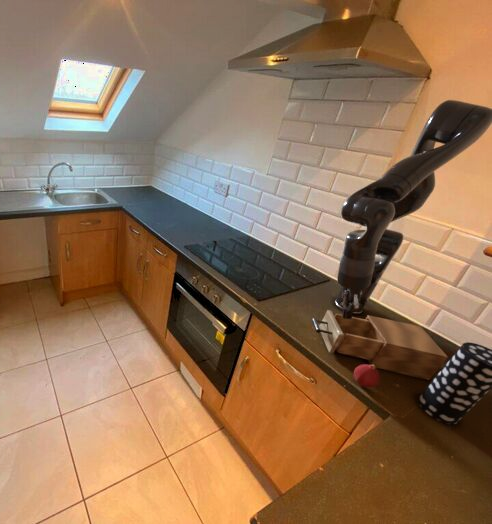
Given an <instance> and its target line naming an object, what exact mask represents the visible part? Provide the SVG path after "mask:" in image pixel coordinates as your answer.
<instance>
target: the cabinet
mask: <svg viewBox="0 0 492 524" xmlns="http://www.w3.org/2000/svg"><path fill="white" fill-rule="evenodd" d="M364 319H365V320H369V321H370V323H371V324H372V326H373V327H374V329H375V330H376V332H377V333H378V335H379V336H380V338H381V339H382V341H383V342H384V344H383V346H382V347H381V349H380V350H379V352H378V353H377V355H376V356H375V358H374V360H373V361H372V360H367V362H368V364H369V365H374V366H375V368H376V369H380V370H384V371H388V372H392V373H398V374H402V375H406V376H410V377H414V378H418V379H422V380H426V381H430V379H431V378H432V377H433V376H434V374H436V372H437V371H438V370H439V369H440V367H442V365H443V364H444V362H445V361H446V360H447V359H448V355H447V354H446V353H445V352H444V350H442V348H440V346H439V345H438V344H437V343H436V342H435V341H434V340H433V338H432V337H431V336H430V335H429V334H428V332H427V331H425V329H424V328H423V327H422V326H420V325H416V324H411V323H406V322H402V321H397V320H392V319H388V318H383V317H378V316H373V315H370V314H369V315H367V316H366V317H365V318H364Z"/></svg>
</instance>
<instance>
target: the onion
mask: <svg viewBox="0 0 492 524" xmlns="http://www.w3.org/2000/svg"><path fill="white" fill-rule="evenodd" d="M353 377H354V380H355V381H356V383H357V384H358V386H360V387H363V388H364V387H365V388H374V387H376V386H378V385H379V384H380V381H381V375H380V373H379V370H378V368H376V367H375V366H374V365H370V364H369V363H368V364H365V363H364V364H359V365H358V366H356V367H355V368H354V371H353Z"/></svg>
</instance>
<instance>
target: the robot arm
mask: <svg viewBox="0 0 492 524" xmlns="http://www.w3.org/2000/svg"><path fill="white" fill-rule="evenodd" d="M491 125H492V108H490V107H488V106H485V105H484V106H483V105H479V104H474V103H470V102H465V101H461V100H455V99H447V100H445V101H443V102H441V103H440V104H439V105H438V106H437V107H436V108H435V109H434V110H433V112H432V113H431V115H429V117H428V118H427V121H426V122H425V124H424V126H423V127H422V130H421V132H420V135H419V136H418V139H417V140H416V143H415V145H414V147H413V149H412V151H411V153H410V156H407V157H405V158H403V159H401V160H399V161H398V162H396V163H395V164H394V165H392V166H391V167H389V169H388V170H387V171H386V172H384V174H382V175H381V176H380V177H379V178H378V179H377V180H375V181H373V182H371V183H369V184H367V185H365V186H364V187H362V188H359V189H358V190H356V191H354V192H353V193H352V194H350V195H349V196H348V197H347V198H346V199H345V200H344V201H343V203H342V204H341V207H340V216H341V218H342V219H343V220H344V221H346V222H348V223H351V224H354V225H358V226H362V227H364V228H365V229H354V230H351V231H349V232H347V233H346V234H345V237H344V242H343V247H342V254H341V256H340V260H339V266H338V271H337V280H336V281H337V282H338V285H340V286H341V288H340V289H339V291H338V294H337V296H336V298H335V300H334V305H335V306H336V307H337V308H338V309H339V310H341V314H342V316H343V318H344V319H352V317H353V315H360V314H362V312H363V310H364V308H365V307H366V305H367V303H368V302H369V300H370V298H371V296H372V294H373V292H374V291H375V289H376V287H377V285H378V284H379V282H380V280H381V278H382V277H383V275H384V273H385V272H386V270H387V268H388V267H389V265H390V263H391V262H392V261H393V259H394V257H395V255H396V254H397V252H399V249H400V248H401V246H402V244H403V241H404V234H403V233H402V232H400V231H396V230H392V229H388V227H389V225H390V224H392V223H393V222H395V221H397V220H400V219H402V218H405V217H407V216H409V215H411V214H413V213H415V212H417V211H419V210H420V209H421V208H422V207H423V205H425V203H426V202H427V201H428V199H429V198H430V196H431V195H432V193H433V192H434V190H435V187H436V174H435V172H436V171H437V170H438V169H441V168H442V167H443V166H444V165H446V164H447V163H449V162H450V161H452V160H453V159H454V158H456V157H458V156H459V155H461V154H462V153H463V152H464V151H466V150H468V148H470V147H471V146H472V145H474V144H475V143H476V142H477V141H478V140H480V138H481V137H482V136H483V135H484V134H485V132H487V131H488V129H489V128H490V126H491ZM436 143H438V144H441V145H439V146H437V147H435V146H436ZM376 255H377V256H376Z"/></svg>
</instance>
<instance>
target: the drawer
mask: <svg viewBox="0 0 492 524" xmlns="http://www.w3.org/2000/svg"><path fill="white" fill-rule="evenodd" d="M365 319H366V318H360V317H355V316H352V319H344V318H343V316H342V313H337V312H336V313H335V315H334V313H333V311H332V310H331V309H327V310H326V312H325V314H324V316H323V318H322V320H319V319H317V318H316V317H313V318H311V322H312V324H313V327H314V329H315V332H316V333H317V334H321V337H322V339H323V341H324V344H325V346H326V349H327V351H328V353H329V354H334V353H335V351H336V353H339V354H342V355H347V356H351V357H355V358H360V359H364V360H366V361H368V360H372V361H373V360H374V358H375V356H376V355H377V353H378V352H379V350H380V349H381V347H382V346H383V344H384V342H383V341H382V339H381V338H380V336H379V335H378V333H377V332H376V330H375V329H374V327H373V326H372V324H371V323H370V321H369V320H365Z"/></svg>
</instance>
